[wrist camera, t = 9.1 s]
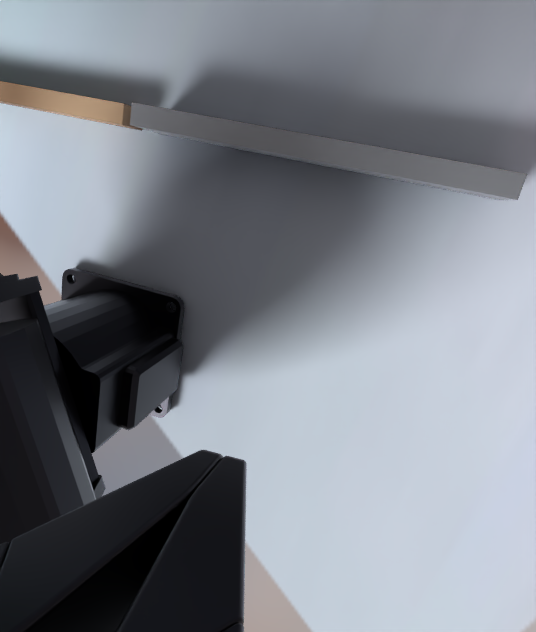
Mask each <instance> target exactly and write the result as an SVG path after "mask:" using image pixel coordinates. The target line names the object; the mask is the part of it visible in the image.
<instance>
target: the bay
mask: <svg viewBox="0 0 536 632" xmlns="http://www.w3.org/2000/svg"><path fill="white" fill-rule="evenodd" d="M0 103H4V104H9V105H14V106H19V107H25V108H30V109H35V110H40V111H45V112H50V113H55V114H60V115H66V116H71V117H76V118H81V119H86V120H91V121H96V122H101V123H107V124H112V125H117V126H122V127H127V128H132V129H137V130H142V128H139V127H135V126H132V125H130V118H131V106H129V105H126V104H123V103H118V102H112V101H107V100H101V99H96V98H90V97H85V96H80V95H74V94H69V93H63V92H58V91H52V90H47V89H41V88H36V87H30V86H25V85H19V84H14V83H8V82H3V81H0Z"/></svg>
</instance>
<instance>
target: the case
mask: <svg viewBox="0 0 536 632" xmlns="http://www.w3.org/2000/svg"><path fill="white" fill-rule="evenodd" d="M130 125H132V126H135V127H139V128H142V129H146V130H149V131H152V132H156V133H159V134H163V135H168V136H173V137H178V138H184V139H189V140H194V141H199V142H204V143H209V144H214V145H219V146H225V147H230V148H235V149H240V150H245V151H250V152H255V153H260V154H266V155H271V156H276V157H281V158H286V159H291V160H296V161H302V162H307V163H312V164H317V165H322V166H327V167H332V168H337V169H343V170H348V171H353V172H358V173H363V174H368V175H373V176H378V177H384V178H389V179H394V180H399V181H404V182H409V183H414V184H420V185H425V186H430V187H435V188H440V189H445V190H450V191H455V192H461V193H466V194H471V195H476V196H481V197H486V198H491V199H496V200H518V198H519V195H520V192H521V190H522V187H523V184H524V182H525V179H526V176H527V174H525V173H519V172H514V171H508V170H503V169H497V168H492V167H486V166H481V165H475V164H470V163H464V162H459V161H453V160H448V159H442V158H437V157H431V156H426V155H420V154H415V153H409V152H404V151H398V150H393V149H387V148H381V147H376V146H370V145H365V144H359V143H354V142H348V141H343V140H337V139H332V138H326V137H321V136H315V135H310V134H304V133H299V132H293V131H288V130H282V129H277V128H271V127H266V126H260V125H255V124H249V123H244V122H238V121H232V120H227V119H221V118H216V117H210V116H205V115H199V114H194V113H188V112H183V111H177V110H172V109H166V108H161V107H155V106H150V105H144V104H139V103H133V102H132V106H131V118H130Z"/></svg>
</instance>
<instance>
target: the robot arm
mask: <svg viewBox="0 0 536 632" xmlns="http://www.w3.org/2000/svg"><path fill="white" fill-rule="evenodd" d="M73 275H74V277H75V280H76V281H75V282H74V280H73V278H72V276H73ZM40 290H42V289H41V286H40V282H39V280H38V276H35V277H30V278H25V279H20V280H19V277H18V274H14V275H9V276H3V275H2V274H1V273H0V632H244V627H243V623H244V578H245V517H246V462H245V461H244V460H241V459H238V458H234V457H230V456H225V457H223V456H222V455H221V454H218V453H214V452H211V451H207V450H200V451H198V452H196V453H194V454H191V455H189V456H187V457H185V458H183V459H181V460H179V461H177V462H174V463H173V464H170V465H168V466H166V467H164V468H162V469H160V470H157V471H155V472H153V473H151V474H149V475H147V476H145V477H143V478H141V479H138V480H136V481H134V482H132V483H130V484H128V485H126V486H124V487H122V488H119V489H117V490H115V491H113V492H111V493H109V494H107V495H104V496H102V494H103V492H104V490H105V485H104V482H103V479H102V476H101V475H98V473H97V469H96V466H95V463H94V460H93V457H92V454H91V453H93V452H95V451H96V450H97V449H98V448H99V447H100V446H102V445H103V444H104V443H105V442H106V441H107V440H109V439H110V438H111V437H112V436H113V435H114V434H115V433H117V432H118V431H119V430H120V429H121V428H123V429H126V430H130V429H132V428H134V427H135V426H137V425H138V424H139V423H140V422H141V421H142V420H143V419H144V418H145V417H147V416H148V415H152V416H155V417H159V418H161V417H164V416H165V415H166V414H167V413H168V412H169V411H170V408H171V401H172V394H173V392H175V391H176V390H177V387H178V380H179V373H180V366H181V359H182V352H183V344H182V342H181V340H180V337H181V330H182V322H183V315H184V302H183V300H182V299H181V298H180V297H178V296H176V295H172V294H169V293H165V292H161V291H158V290H154V289H150V288H147V287H143V286H140V285H136V284H132V283H129V282H125V281H121V280H118V279H114V278H111V277H107V276H103V275H100V274H96V273H93V272H89V271H85V270H82V269H78V268H72V269H68V270H66V271H65V272H64V273H63V277H62V300H61V301H58V302H55V303H51V304H48V305H45V306H44V305H43V302H42V299H41V296H40V293H39V291H40ZM171 302H172V303H174V304H175V306H176V310H175V311H174V310H172V308H171V307H170V303H171ZM159 405H161V407H162V410H161V409H160V408H159V407H158V406H159ZM101 496H102V497H101Z"/></svg>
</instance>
